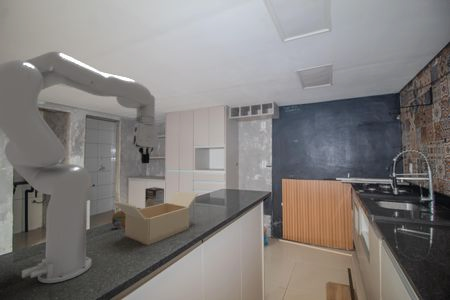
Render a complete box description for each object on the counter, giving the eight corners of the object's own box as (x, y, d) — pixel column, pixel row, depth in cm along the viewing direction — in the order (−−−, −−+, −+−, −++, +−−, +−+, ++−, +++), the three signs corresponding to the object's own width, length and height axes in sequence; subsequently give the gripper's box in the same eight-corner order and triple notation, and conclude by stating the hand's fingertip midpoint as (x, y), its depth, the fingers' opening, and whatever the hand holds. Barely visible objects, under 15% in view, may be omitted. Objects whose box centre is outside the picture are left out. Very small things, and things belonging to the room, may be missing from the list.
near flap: (114, 200, 82) (113, 201, 81) (134, 205, 74) (133, 206, 73) (126, 213, 86) (125, 214, 85) (146, 218, 78) (145, 220, 77)
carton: (148, 245, 77) (148, 219, 77) (124, 235, 86) (125, 212, 87) (189, 228, 95) (189, 207, 95) (166, 222, 104) (166, 202, 105)
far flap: (196, 194, 101) (197, 195, 101) (177, 191, 109) (177, 192, 110) (188, 206, 96) (188, 207, 96) (168, 203, 104) (168, 203, 104)
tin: (112, 230, 93) (112, 212, 93) (111, 228, 95) (111, 210, 96) (145, 223, 102) (146, 206, 103) (143, 222, 105) (144, 205, 105)
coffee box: (144, 217, 113) (144, 188, 113) (153, 214, 118) (154, 187, 119) (155, 220, 108) (155, 189, 109) (164, 216, 113) (164, 188, 114)
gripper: (134, 118, 81) (134, 163, 81) (164, 123, 94) (164, 162, 93) (124, 120, 86) (124, 163, 85) (154, 124, 98) (154, 162, 97)
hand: (145, 163), depth 89 cm, fingers closed
